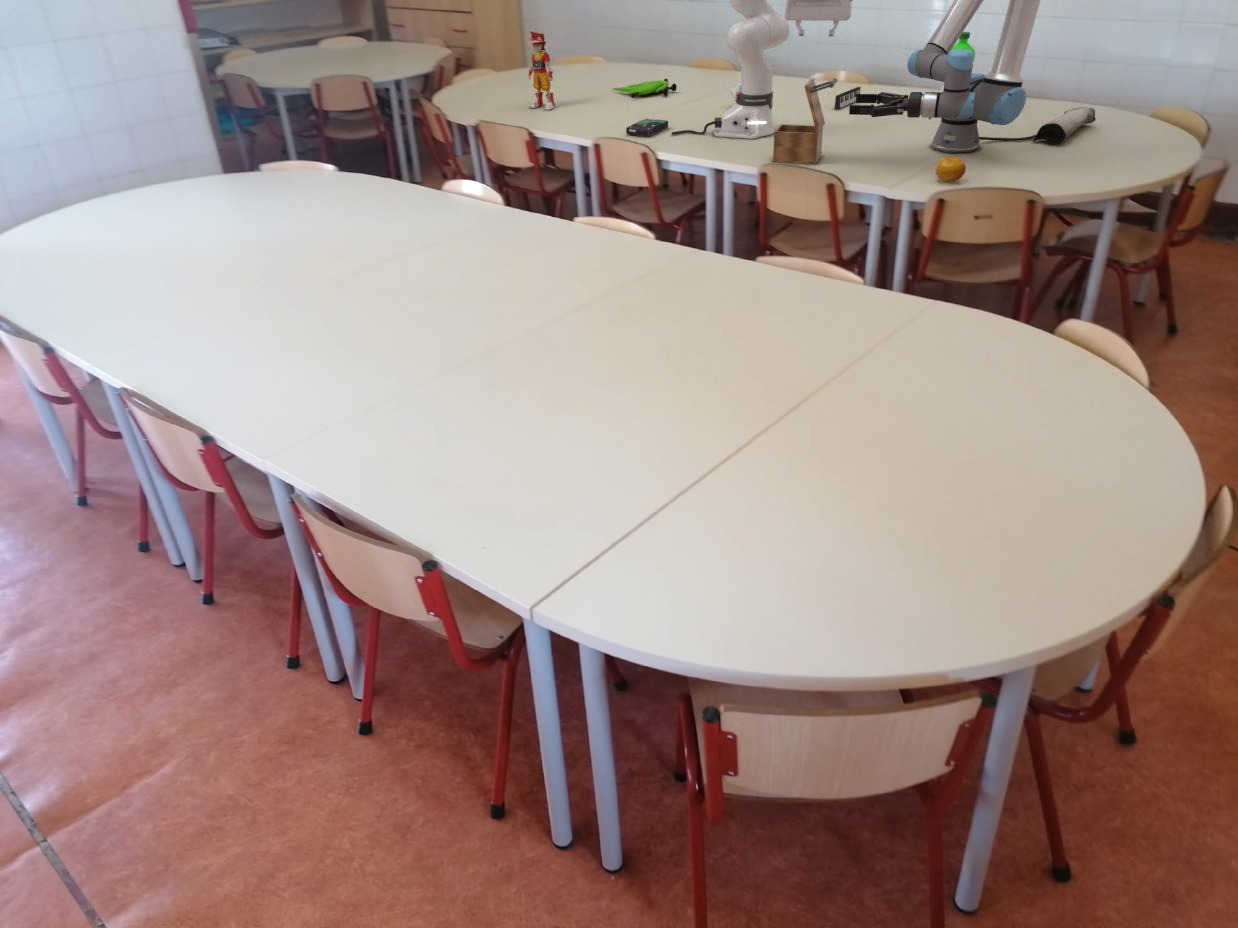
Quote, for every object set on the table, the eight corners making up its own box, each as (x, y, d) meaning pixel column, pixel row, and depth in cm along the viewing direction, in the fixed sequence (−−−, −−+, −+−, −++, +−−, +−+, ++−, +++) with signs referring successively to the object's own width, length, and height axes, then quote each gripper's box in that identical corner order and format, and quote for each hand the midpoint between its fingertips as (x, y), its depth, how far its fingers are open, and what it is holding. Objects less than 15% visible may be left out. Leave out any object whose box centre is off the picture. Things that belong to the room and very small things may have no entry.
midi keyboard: (837, 109, 355) (838, 96, 352) (834, 109, 355) (835, 95, 352) (859, 100, 365) (860, 87, 362) (856, 99, 366) (858, 86, 363)
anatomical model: (726, 82, 366) (750, 75, 366) (730, 107, 372) (754, 101, 372) (732, 90, 354) (757, 83, 353) (737, 117, 360) (761, 110, 359)
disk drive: (649, 138, 335) (668, 127, 345) (649, 130, 333) (668, 120, 343) (625, 135, 340) (645, 125, 350) (625, 127, 338) (645, 117, 348)
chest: (772, 162, 303) (774, 132, 297) (779, 154, 310) (780, 124, 304) (815, 164, 298) (817, 133, 293) (821, 156, 305) (823, 126, 300)
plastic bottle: (973, 101, 354) (984, 32, 339) (955, 106, 349) (966, 36, 335) (952, 97, 361) (962, 29, 346) (934, 102, 356) (944, 33, 342)
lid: (804, 86, 286) (830, 77, 282) (810, 79, 293) (835, 71, 289) (816, 132, 292) (842, 124, 288) (821, 124, 300) (847, 116, 296)
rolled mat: (1061, 112, 323) (1087, 94, 314) (1075, 133, 323) (1101, 116, 315) (1028, 135, 305) (1054, 117, 297) (1043, 158, 306) (1070, 140, 298)
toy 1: (525, 109, 381) (517, 32, 364) (534, 104, 388) (527, 28, 371) (550, 110, 377) (543, 32, 360) (559, 105, 384) (553, 28, 367)
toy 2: (686, 85, 398) (631, 84, 414) (685, 72, 395) (629, 72, 411) (651, 104, 381) (596, 103, 397) (650, 92, 378) (594, 91, 394)
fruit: (930, 172, 274) (947, 148, 271) (931, 174, 281) (947, 151, 278) (953, 187, 272) (970, 164, 269) (953, 189, 280) (970, 166, 277)
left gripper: (855, -15, 272) (851, 34, 280) (789, -15, 279) (786, 34, 287) (852, -12, 268) (848, 38, 275) (784, -12, 274) (782, 37, 282)
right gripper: (916, 128, 274) (845, 127, 281) (924, 106, 292) (857, 105, 299) (919, 103, 270) (847, 102, 277) (927, 82, 288) (859, 82, 295)
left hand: (816, 36), depth 281 cm, fingers open, 8 cm apart
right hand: (852, 104), depth 288 cm, fingers open, 13 cm apart
